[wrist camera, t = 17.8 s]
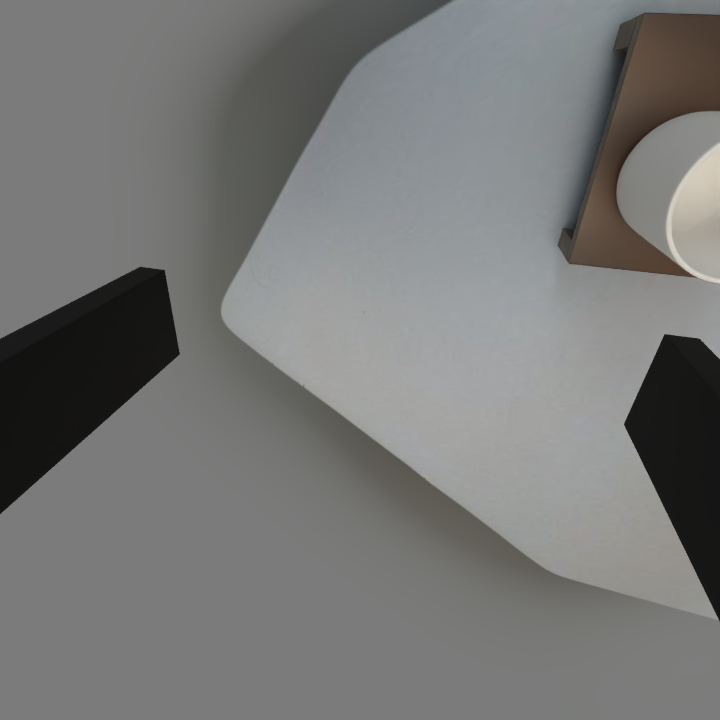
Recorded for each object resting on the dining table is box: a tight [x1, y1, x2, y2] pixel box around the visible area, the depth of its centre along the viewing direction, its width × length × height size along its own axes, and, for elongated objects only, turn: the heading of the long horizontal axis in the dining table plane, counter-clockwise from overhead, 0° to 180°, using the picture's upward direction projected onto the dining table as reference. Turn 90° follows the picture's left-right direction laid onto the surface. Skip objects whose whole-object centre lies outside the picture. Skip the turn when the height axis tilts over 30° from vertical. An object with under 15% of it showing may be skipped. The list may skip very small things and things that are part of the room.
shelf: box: [558, 13, 720, 278], centre depth 32 cm, size 16×12×8 cm
